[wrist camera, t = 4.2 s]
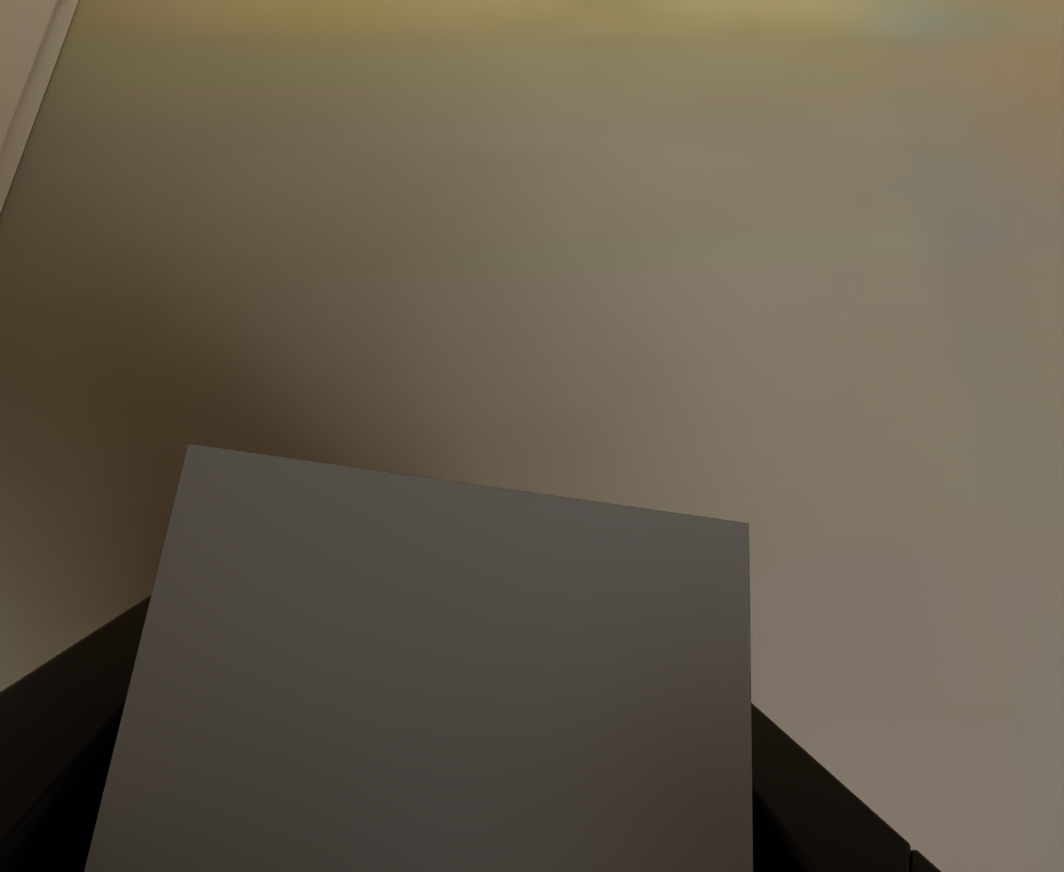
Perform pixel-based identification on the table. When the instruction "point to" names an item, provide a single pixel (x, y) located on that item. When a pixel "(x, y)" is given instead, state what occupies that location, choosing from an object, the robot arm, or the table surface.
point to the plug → (431, 682)
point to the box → (26, 71)
